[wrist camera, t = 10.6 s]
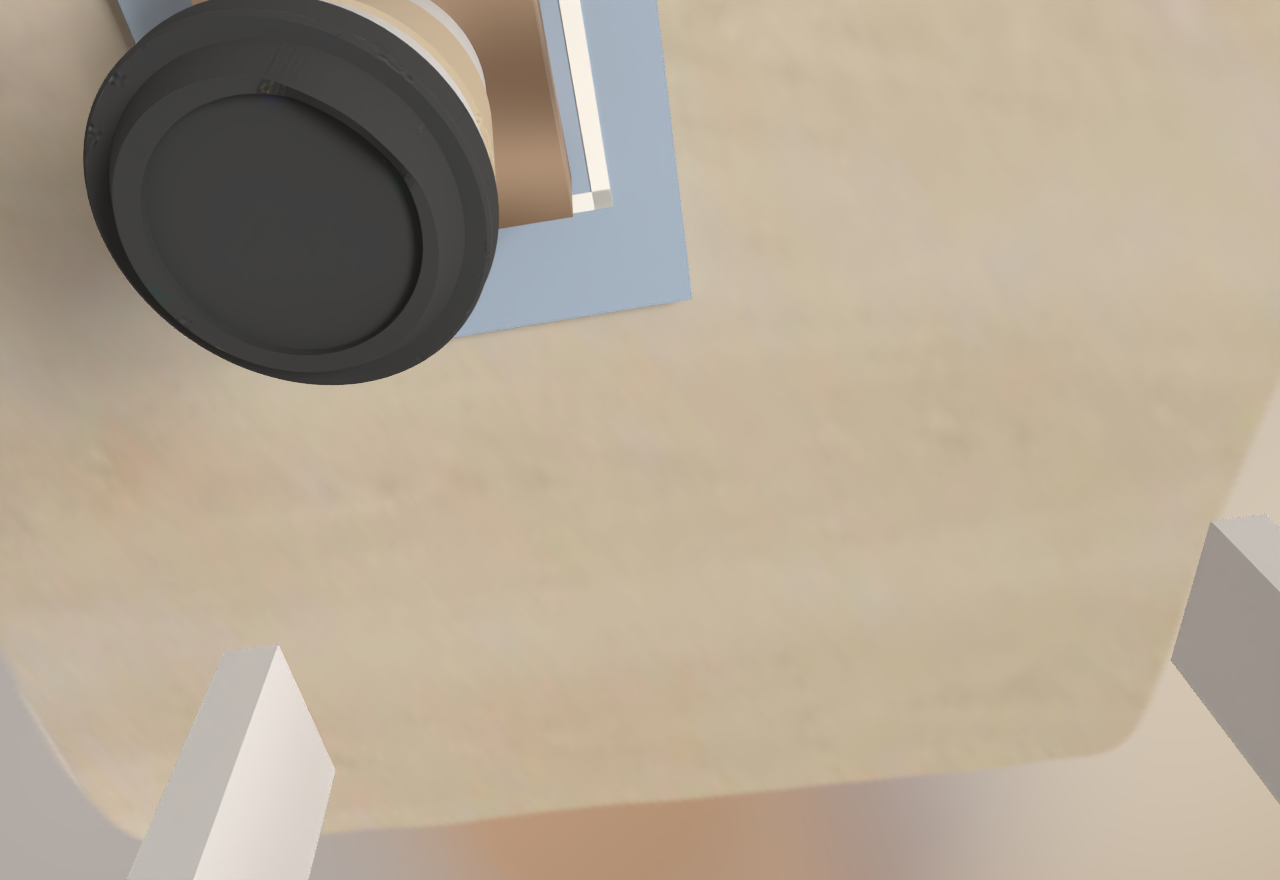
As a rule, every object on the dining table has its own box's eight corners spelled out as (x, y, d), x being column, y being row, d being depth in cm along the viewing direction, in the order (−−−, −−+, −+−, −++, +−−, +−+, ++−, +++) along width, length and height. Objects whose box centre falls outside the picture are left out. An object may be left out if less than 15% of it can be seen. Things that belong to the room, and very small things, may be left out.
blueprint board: (18, -273, 31) (2, -276, 30) (610, -375, 30) (611, -381, 29) (275, 356, 44) (269, 367, 43) (689, 290, 43) (692, 299, 43)
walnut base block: (217, -73, 33) (168, -61, 29) (516, -123, 33) (510, -118, 29) (318, 218, 39) (289, 262, 35) (571, 177, 39) (572, 217, 35)
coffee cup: (431, 261, 35) (362, 488, 23) (205, 116, 32) (-24, 287, 19) (568, 63, 32) (575, 201, 19) (330, -124, 28) (151, -105, 16)
